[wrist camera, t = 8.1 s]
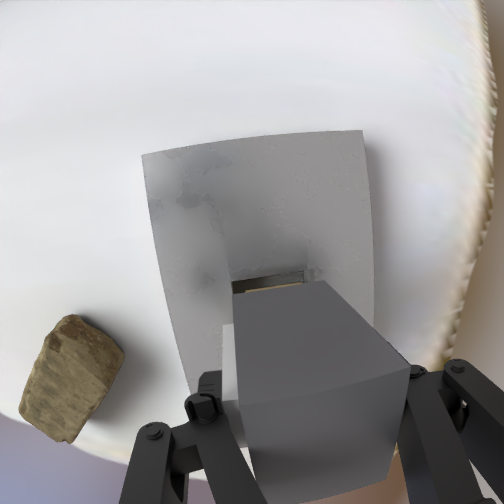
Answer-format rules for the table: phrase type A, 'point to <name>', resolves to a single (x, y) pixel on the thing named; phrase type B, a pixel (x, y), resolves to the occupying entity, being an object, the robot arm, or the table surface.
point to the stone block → (69, 378)
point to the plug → (315, 392)
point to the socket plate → (257, 227)
